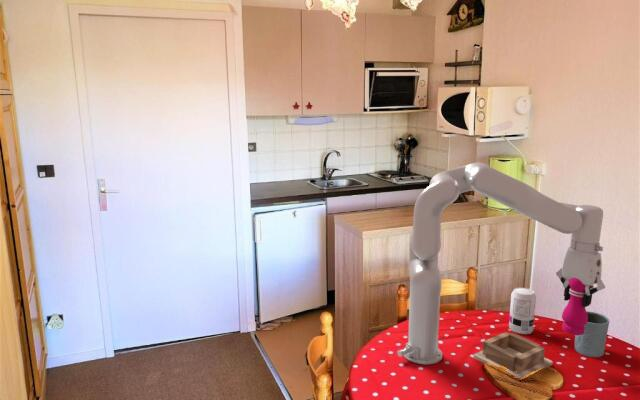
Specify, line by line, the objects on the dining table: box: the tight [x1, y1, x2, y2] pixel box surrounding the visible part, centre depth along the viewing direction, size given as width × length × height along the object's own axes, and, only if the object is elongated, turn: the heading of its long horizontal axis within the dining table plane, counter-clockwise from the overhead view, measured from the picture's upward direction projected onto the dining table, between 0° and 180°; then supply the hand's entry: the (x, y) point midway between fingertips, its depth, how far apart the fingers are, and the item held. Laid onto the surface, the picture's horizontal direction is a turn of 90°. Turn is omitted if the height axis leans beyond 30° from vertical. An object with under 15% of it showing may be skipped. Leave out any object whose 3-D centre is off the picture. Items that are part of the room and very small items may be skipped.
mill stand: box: [473, 331, 553, 378], centre depth 159 cm, size 17×17×6 cm
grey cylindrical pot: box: [574, 310, 610, 358], centre depth 165 cm, size 10×10×12 cm
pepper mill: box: [561, 278, 588, 336], centre depth 153 cm, size 7×7×20 cm
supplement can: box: [508, 287, 537, 335], centre depth 180 cm, size 8×8×15 cm
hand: (576, 302), depth 153 cm, fingers closed on pepper mill, 5 cm apart
